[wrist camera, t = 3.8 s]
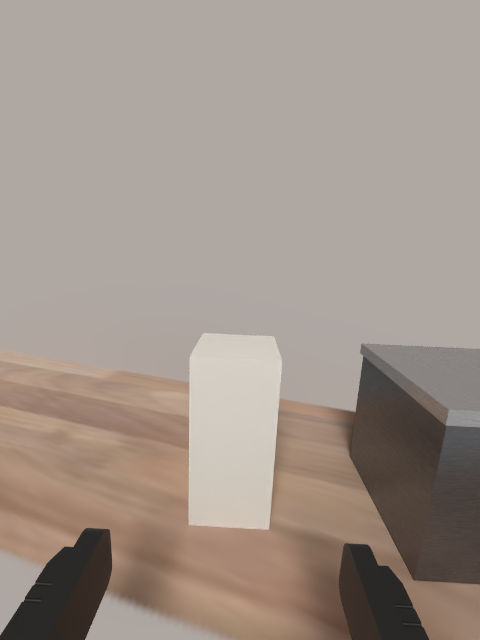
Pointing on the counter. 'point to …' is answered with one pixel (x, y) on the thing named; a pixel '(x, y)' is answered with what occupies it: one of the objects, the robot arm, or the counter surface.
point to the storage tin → (423, 454)
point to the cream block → (233, 430)
